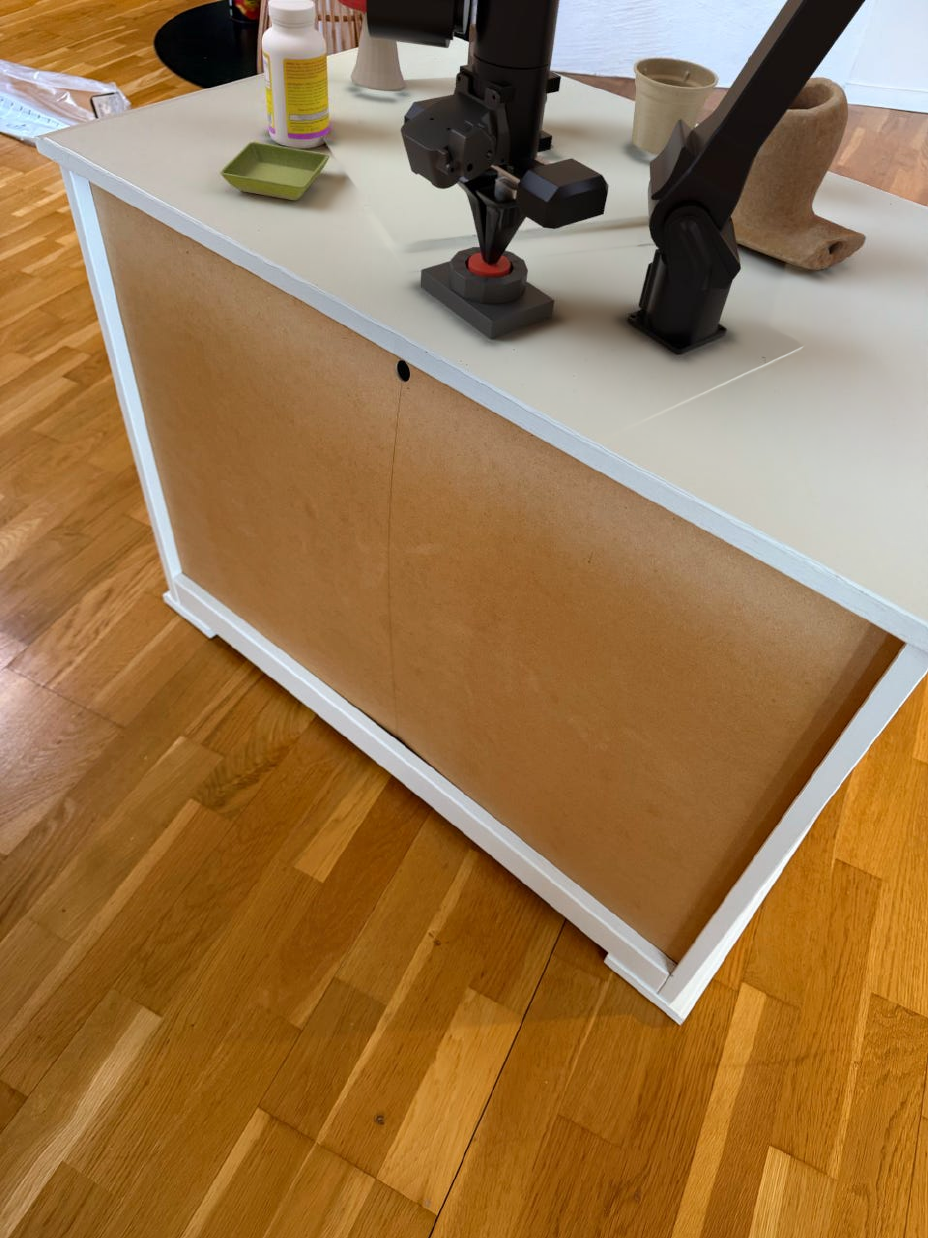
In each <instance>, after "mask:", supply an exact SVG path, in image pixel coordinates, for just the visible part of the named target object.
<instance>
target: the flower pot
mask: <svg viewBox="0 0 928 1238" xmlns="http://www.w3.org/2000/svg"><path fill="white" fill-rule="evenodd" d="M633 73H634V74H635V78H634V79H635V80H634V85H635V88H636V89H635V98H634V99H635V101H634V112H633V122H632V132H631V143H632V144H633V145H634V146H635V147H636V148H638V149H639V150H642V151H644V152H647V153H650V154H655V155H659V154H660V153H661V152H662V151H663V149H664V148H665V146H666V145H667V143H668V141H669V138H670V136H671V134H672V131H673V129H674V127H675V125H676V123H677V122H678V120H679V119H682V120H683V121H684V122H685V123H686V124H687V125H688V126H689V127H690V128H691V129H692V130H693V129H694V128H695V127H696V126H697V123H698V122H699V121H698V120H699V118H700V115H701V113H702V110H703V108H704V105H705V104H706V101H707V100H708V99H709V97H710V96H711V93H712V91H713V89H714V88H716V87H717V85H718V83H719V76H718V75H717V74H716V73H715V72H714V71H713V70H712V69H709V68H708V67H706V66H703V65H701V64H699V63H696V62H693V61H689V60H686V59H680V58H673V57H663V56H662V57H659V56H658V57H657V56H656V57H646V58H641V59H639V60H637V61H635V62H634V63H633Z"/></svg>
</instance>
